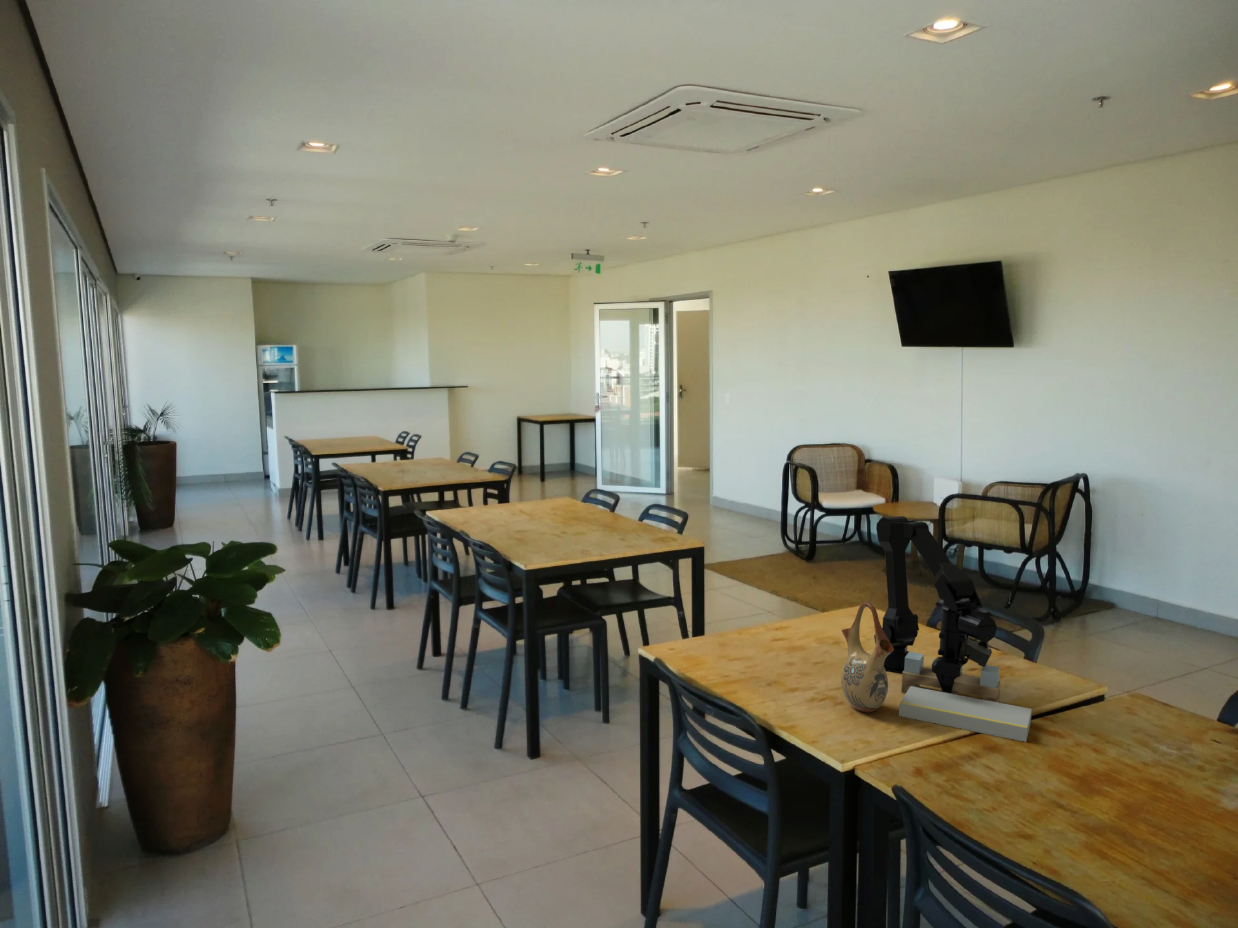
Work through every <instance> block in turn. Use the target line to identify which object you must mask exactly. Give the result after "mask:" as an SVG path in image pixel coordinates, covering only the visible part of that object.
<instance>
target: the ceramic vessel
mask: <svg viewBox="0 0 1238 928" xmlns="http://www.w3.org/2000/svg"><path fill="white" fill-rule="evenodd" d="M865 608H868V609H869V610H870V612H871V616H872V618H873V619H872V620H873V625H874V635H875V637H876V644H875V645H874V646H875V647H874V650H873V652H872V654H869V653H868V652H867V651H866V650H865V649H864V647H863V645H862V642H861V639H860V629H861V627H860V626H861V620H862V616H863V613H864V610H865ZM841 633H842V635H843V636H844V638H845V642H846V644H847V656H846V659H845V662H844V664H843V665H842V670H841V674H840V675H841V677H840V678H841V681H840V682H841V689H842V691H843V694H844V697H845V699H846V700H847V702H848V703H849V704H850V705H851V707H853V708H854V709H856V710H857V711H860V712H862V713H874V712H875V711H876V710H878V709H880V707H881V706H882V705H883V704H884V703H885V701H886V699H887V696H888V692H889V678H888V674H887V670H885V668H884V661H885V659H886V657H887V656H888V655H889V654H890V653H891V652H893V650H894V648H893V646H892V645H891V643H890V642H889V640H888V638H887V637H886V635H885V633H884V631H883V629H882V625H881V622H880V618H879V615H878V612H877V609H876V607H875V606H874V604H872V603H871V602H868V601H867V602H862V603H861V604H860V606H859V607H858V609H857V613H856V615H855V619H854V620H853V623H852V625H851V626H850V627H848V628H843V629H841Z"/></svg>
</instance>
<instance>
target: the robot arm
mask: <svg viewBox="0 0 1238 928" xmlns="http://www.w3.org/2000/svg"><path fill="white" fill-rule="evenodd" d="M875 526H876V527H875V528H876V535H877V541H878V543H879V545H880V546H881V547H882V549H883V550H884V554H885V555H884V557H885V570H886V572H885V573H886V589H887V603H888V604H887V605H888V607H887V609H886V611H885V614H884V616H883V618H882V625H881V627H882V629H883V631H884V633H885V635H886V637H887V638H888V640H889V642H890V643H891V645H892V646H893V648H894V650H893V652H891V653H890V654H889V655H888V656H887V657H886V659H885V661H884V668H885V671H886V672H894V673H899V674H902V672H903V671H904V665H905V657H906V655H907V654H908V653H909V652H910V650H908V646H909V647H910V646H914V643H915V641H916V638H917V637H918V634H919V633H918V632H919V631H920V628H919V616H918V614H917V613H916V614H914V613H913V611H912V610H911V609H910V606H909V590H908V574H907V557H906V551H907V548H908V546H909V545H910V543H911V542H912V544H913V546H914V547H915V548H916V550H917V551H918V553H919V554H920V556H921V558H922V559H923V561H924V562H925V563H926V565H927V567H928V568H929V569H930V571H931V573H932V574H933V586H934V587H935V589H936V591H937V594H938V595H939V597H940V600H939V601H937V602H936V603H935V606H936V607H939V608H941V617H940V618H941V619H940V620H941V622H940V632H939V633H938V638H939V648H938V650H937V655H938V656H937V657H936V658H934V660H933V661H932V663H931V672H933V673H935V674H936V676H937V679H938V681H939V683H940V686H941V688H942V691H943V692H944V693H950V694H951V692H952V688H953V684H954V681H955V679H956V678H957V677H960V676H961V674H963V666H964V665H966V664H967V663H968V661H969V660H970V661H972V662H974V663H976V664H978V666H980V667H985V666H986V665H988V662H989V660H990V658H991V655H992V654H993V651H992V648H989V647H990V646H989V642H990V641H991V640H993V639H994V637H995V636H996V634H997V631H998V625H997V622H996V620H995V619H994V618H992V616H991V611H988V610H983V603H982V601H981V598H980V597H979V594H978V592H977V589H976V588H975V584H974V582H973V580H972V579H971V577H969V575H968V574H967V573H966V572H965V571H964V570H963V569H961V568H959V567H957V566H955V565H954V563H952V562H951V560H950V559H949V557H948V555H947V554H946V553H945V551H944V550H943V549H942V546H940V544H939V543H938V541H937V540H936V538H935V537H934V535H933V534H932V533H931V531H930V528H929V527H930V526H929V525H928V524H927V523H926V522H925V521H923V520H922V521H918V520H912V519H911V520H910V519H908V518H907V517H906V516H903V515H898V516H885V517H881V518H879V520H878V521H877V522H876V524H875ZM873 638H874V639H873V640H874V644H875V645H876V637H875V634H874V635H873ZM970 638H973V639H975V640H974V641H973V640H971V639H970ZM976 640H978V641H976ZM941 688H940V689H941Z"/></svg>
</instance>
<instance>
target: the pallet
mask: <svg viewBox="0 0 1238 928" xmlns="http://www.w3.org/2000/svg"><path fill="white" fill-rule="evenodd" d="M931 669H932V667H931V668H930V667H924V666H923V669H922V671H921V672H920V674H914V673H909V672H904V671H903V672H902V673H901V674H902V675H901V676H902V677H901V693H903V694H906V692H907V691H908V689H909V688H910V686H912V687H918V688H920V686H926V687H931V688H935V689H936V688H937V689H941V690H940V692H943V691H942V688H941V686H940V683H939V681H938V679H937V676H936V674H935V673H933V672H931ZM980 677H981V676H975V675H971V674H965V673H964V674H963V673H962V674H961V676H960V677H957V678H956V679H955V681H954V684H953V688H952V692H951V694H955V695H959V693H964V694H969V695H974V696H979V697H982V698H981V699H982V700H987V701H992V702H998V701H1000V692H1001V691H1000V690H1001V680H999V682H998V685H997V688H992V687H986V686H980ZM998 703H999V702H998Z"/></svg>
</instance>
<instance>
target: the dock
mask: <svg viewBox="0 0 1238 928" xmlns="http://www.w3.org/2000/svg"><path fill="white" fill-rule="evenodd" d="M1032 709H1033V708H1030V707H1024V706H1020V705H1019V706H1018V705H1012V704H1007V703H1003V702H1002V703H1001V702H992V701H987V700H982V698H981V699H980V698H975V697H970V696H966V695H965V696H964V695H960V694H958V695H955V694H950V693H944V692H941V691H938V690H932V689H927V688H922V687H919V688H918V687H912V686H910V688H909V689H908V691H907V692H906V693H904V695H903V697H902V699H901V700H900V702H899V711H898V717H901V716H902V717H903V718H908V719H911V720H912V719H913V720H916V719H917V720H918V721H920V722H925V723H926V722H927V723H932V724H935V723H936V725H941V726H946V727H950V728H954V729H955V728H956V729H960V728H961V730H966V731H970V732H976V733H979V734H980V733H981V734H985V735H990V736H995V737H998V738H1005V739H1008V740H1009V739H1010V740H1013V739H1014V741H1018V742H1023V741H1024V743H1027V739H1028V735H1029V731H1030V727H1031V723H1032V712H1033V711H1032ZM917 720H916V721H917Z"/></svg>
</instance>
